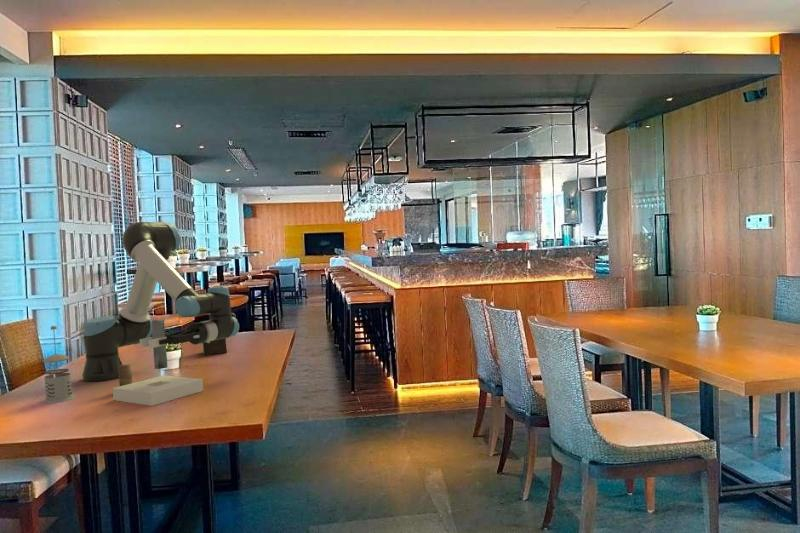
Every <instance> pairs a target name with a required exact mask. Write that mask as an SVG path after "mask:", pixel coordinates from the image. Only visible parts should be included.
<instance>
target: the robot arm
mask: <svg viewBox="0 0 800 533" xmlns="http://www.w3.org/2000/svg"><path fill="white" fill-rule="evenodd" d="M122 245H123V248H124V250H125V252H126V254H127V255H128V256H129V258H131V260H133V261H134V262H138V265H137V269H136V271H135V276H134V277H133V282H132V285H131V289H130V291H129V295H128V299H127V302H126V304H125V305H126V306H125V307H123V308H121V309H120V311H119V313H118V317H116V316H115V315H104V316H100V317H95V318H92V319H89V320H87V321H85V323H84V324H83V333H82V334H83V337H84V338H83V339H84V349H85V350H84V351H85V363H84V367H83V371H82V374H81V375H82V376H81V377H82V381H84V382H102V381H108V380H113V379H115V380H116V379H117V378H118V379H119V370H118V366H120V365H124V364H123V362H122V360H121V358H120V355H119V354H120V353H119V348H121V347H128V346H130V345H139V347H140V348H145V347H146V348H147V347H149V349H153V348H154V347H159V346H164V345H166V346H168V345H178V344H184V343H188V342H189V343H190V344H191V345H199V344H200V345H201V344H202V343H204V342H207V343H210V341H214V340H219V339H224V338H226V339H228V338H231V337H234V336H237V334H238V333H239V330H240V323H239V321H238V319H237V318H235V317H232V315H231V313H232V307H231V294H230V290H229V287H228V286H227V285H219V286H212V287H211V286H210V287H209V288H208V289H207V292H206V293H198V292H197V291H196V290H195V289H194V288H193V287H192V286H191V285H190V284H189V283H188V282H187V281H186V280H185V279H184V278H183V276H182V275H181V274H180V273H179V272H178V271H177V270H176V269H175V268H174V267H173V266H172V264H170V263H169V261H168V260H169V258H170V255H171V253H172V252H175V251H177V250H178V249H179V247H180V245H181V234H180V232H179V230H178V227H177V226H176V225H174V224H173V223H171V222H167V221H138V222H134V223H132V224H130V225H129V226H127V228H125V230H124V232H123V235H122ZM157 284H159V286H160V287H161V288H163V290H164V291H165V292H166V293H167V294H168V295H169V296H170V298H171V299H172V300H173V301H174V302H175V304H174V308H175V311H176V314H177V315H178V316H179V317H181V318H183V319H185V318H194V317H198V316H204V315H209V317H210V319H208V320H203V321H200V322H193V323H190V324H189V325H188V326H187V328H186V329H181V330H177V331H176V330H174V331H171V332H165V337H161V338H156V339H153V337H152V324H151V321H152V320H153V319H152V318H151V315H150V314H149V310H150V306H151V303H152V300H153V296H154V293H155V290H156V287H157Z"/></svg>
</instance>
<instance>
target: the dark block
mask: <svg viewBox="0 0 800 533" xmlns="http://www.w3.org/2000/svg"><path fill="white" fill-rule="evenodd" d="M231 315H232V317H235V318H236V317H237V315H236V314H235V313H233V312H231ZM236 319H237V318H236ZM201 345H202V355H203V356H211V355H212V354H213V355H218V354H226V353H228V350H227V338H224V339H219V340H214V341H210V343H207V342H204V343H201Z"/></svg>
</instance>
